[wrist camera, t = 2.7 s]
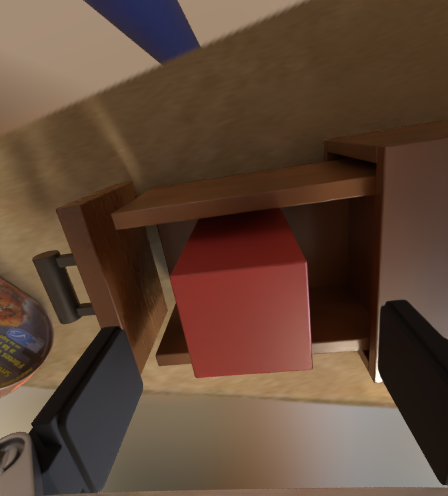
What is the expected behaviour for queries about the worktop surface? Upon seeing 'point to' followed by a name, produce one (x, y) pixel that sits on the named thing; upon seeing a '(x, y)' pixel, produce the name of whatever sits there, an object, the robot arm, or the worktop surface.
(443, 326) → the cabinet
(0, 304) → the tin
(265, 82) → the worktop surface
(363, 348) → the drawer
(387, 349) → the robot arm
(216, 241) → the card box
